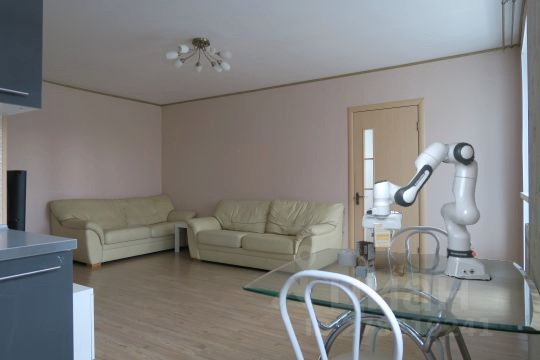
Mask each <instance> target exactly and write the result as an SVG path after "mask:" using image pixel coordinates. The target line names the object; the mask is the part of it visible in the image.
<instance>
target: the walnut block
mask: <svg viewBox="0 0 540 360" xmlns="http://www.w3.org/2000/svg"><path fill="white" fill-rule="evenodd" d="M392 267H393V269H392V271H393V272H392V273H393V275H392V276H393V277H394V276H395V277H401V278H403V277H404V273H405V267H404V265H403V264H402V265H401V264H393V266H392Z"/></svg>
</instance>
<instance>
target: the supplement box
mask: <svg viewBox="0 0 540 360" xmlns="http://www.w3.org/2000/svg"><path fill="white" fill-rule="evenodd" d="M372 230H373V232H372V233H374V237H373V242H374V247H375V249H387V248H388V249H391V247H392V246H391V245H392V243H391V241H392V239H391V238H390V234H391V229H384V228H383V224H377V223H374V228H372Z"/></svg>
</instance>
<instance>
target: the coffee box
mask: <svg viewBox="0 0 540 360" xmlns="http://www.w3.org/2000/svg"><path fill="white" fill-rule="evenodd" d="M355 243H356V245H355V246H356V247H355V248H356V249H355V250H356V266H355V268H356V267H357V266H363V267H367V273H372V272H376V248H375V247H374V241H373V242H372V241H368V240H359V241H356V242H355Z"/></svg>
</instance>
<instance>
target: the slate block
mask: <svg viewBox="0 0 540 360" xmlns="http://www.w3.org/2000/svg"><path fill="white" fill-rule="evenodd" d="M366 276H367V277H368V272H367V267H363V266H357V267H356V266H355V278H358V277H362V278H361V279H367V277H366Z"/></svg>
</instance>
